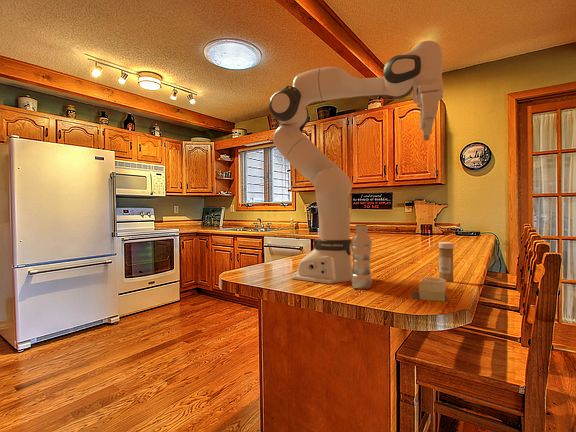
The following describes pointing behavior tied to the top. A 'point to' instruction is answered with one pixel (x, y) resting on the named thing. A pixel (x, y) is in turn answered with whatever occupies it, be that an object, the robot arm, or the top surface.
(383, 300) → the top surface
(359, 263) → the plastic bottle
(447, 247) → the sprinkles bottle
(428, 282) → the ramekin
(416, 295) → the mat
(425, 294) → the cover
